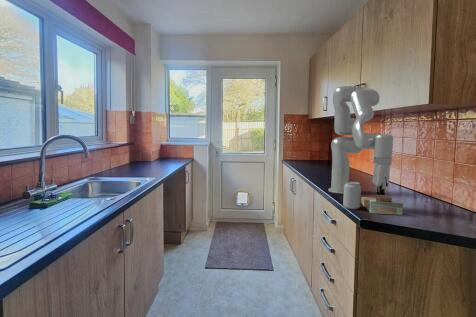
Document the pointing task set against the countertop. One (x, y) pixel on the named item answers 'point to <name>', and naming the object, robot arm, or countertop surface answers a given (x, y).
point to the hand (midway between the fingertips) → (380, 200)
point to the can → (352, 195)
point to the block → (383, 198)
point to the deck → (382, 206)
